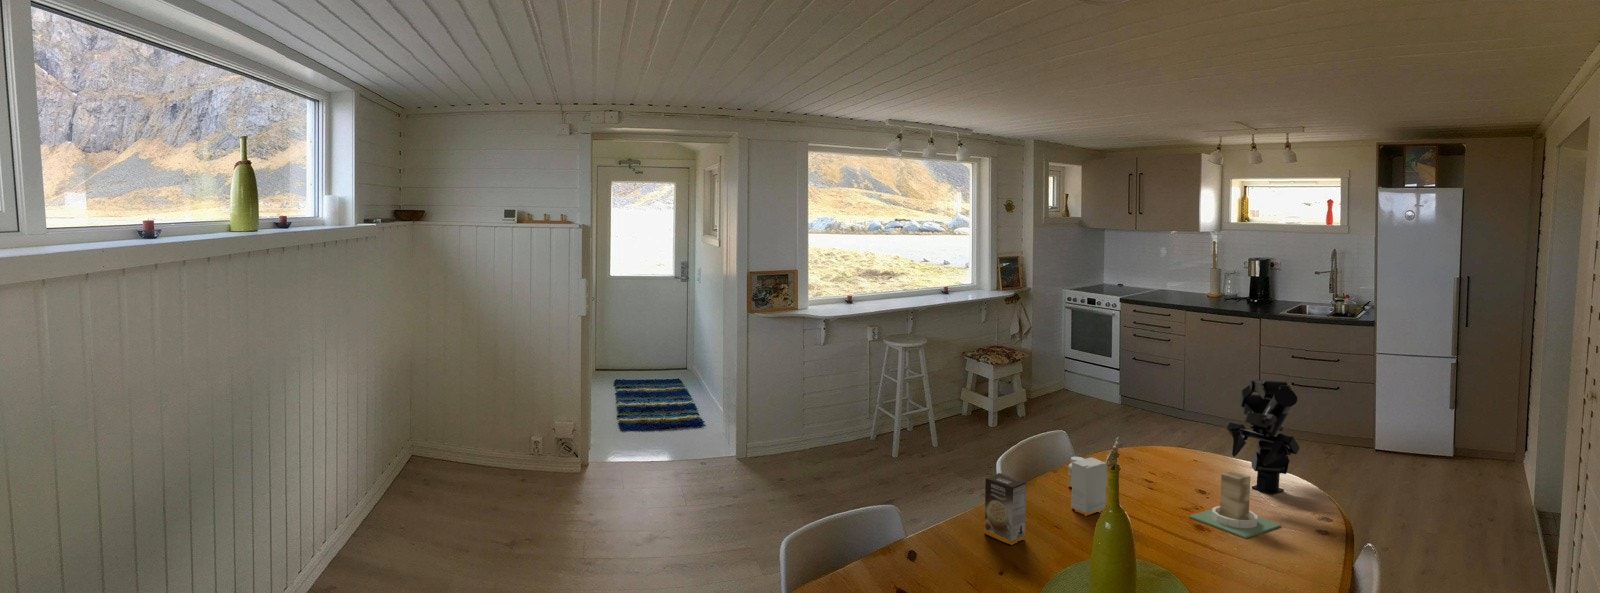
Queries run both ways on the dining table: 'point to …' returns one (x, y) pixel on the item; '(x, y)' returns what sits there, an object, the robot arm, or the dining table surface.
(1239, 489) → the oak block
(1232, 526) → the putting green
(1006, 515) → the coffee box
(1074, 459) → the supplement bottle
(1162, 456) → the dining table surface
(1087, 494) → the skincare box
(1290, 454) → the robot arm
